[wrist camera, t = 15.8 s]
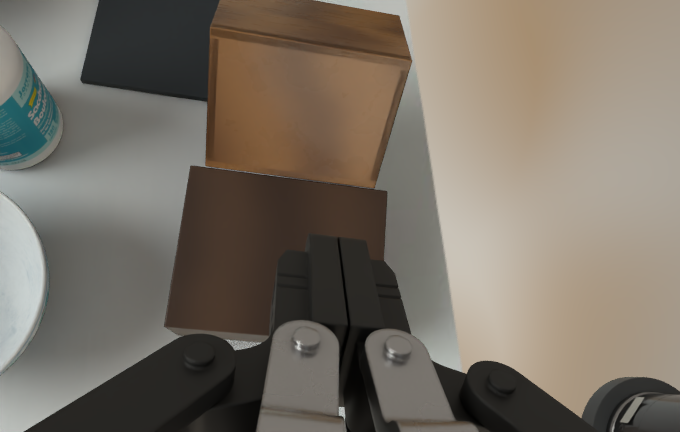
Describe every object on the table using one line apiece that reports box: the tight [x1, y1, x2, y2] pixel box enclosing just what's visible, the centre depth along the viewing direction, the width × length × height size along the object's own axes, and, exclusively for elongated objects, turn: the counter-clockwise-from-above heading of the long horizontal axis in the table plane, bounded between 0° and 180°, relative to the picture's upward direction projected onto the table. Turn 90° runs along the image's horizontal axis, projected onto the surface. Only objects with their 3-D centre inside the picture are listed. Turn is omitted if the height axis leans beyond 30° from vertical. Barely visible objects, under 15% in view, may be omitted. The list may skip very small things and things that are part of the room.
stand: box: [164, 166, 387, 342], centre depth 41 cm, size 14×11×8 cm
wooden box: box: [205, 0, 412, 188], centre depth 38 cm, size 12×10×7 cm
